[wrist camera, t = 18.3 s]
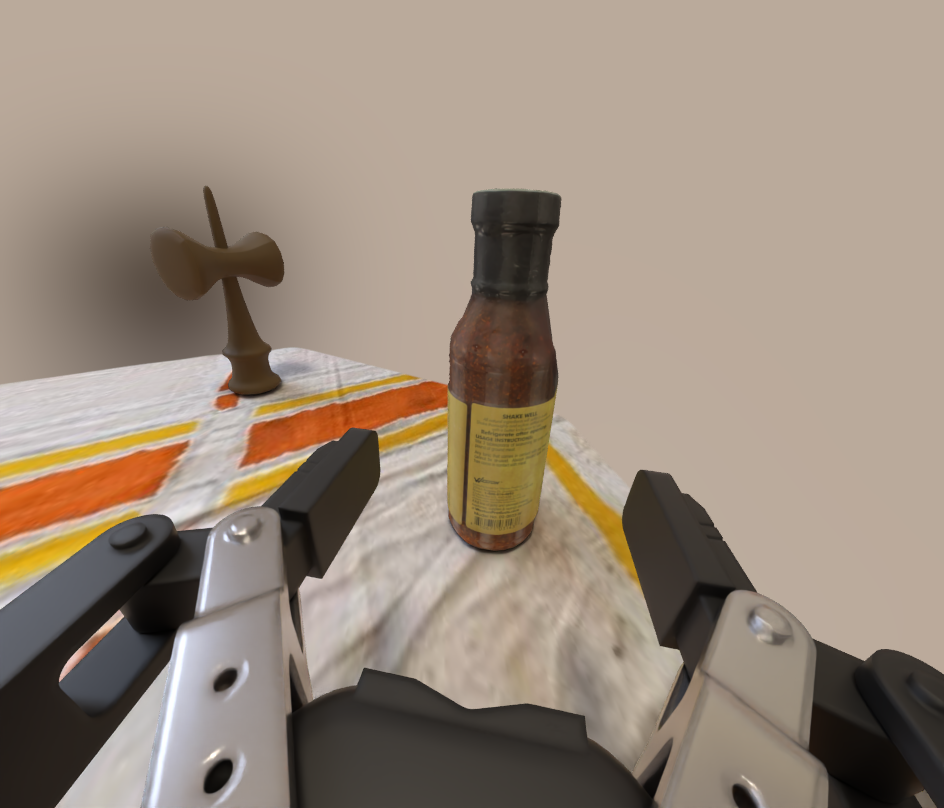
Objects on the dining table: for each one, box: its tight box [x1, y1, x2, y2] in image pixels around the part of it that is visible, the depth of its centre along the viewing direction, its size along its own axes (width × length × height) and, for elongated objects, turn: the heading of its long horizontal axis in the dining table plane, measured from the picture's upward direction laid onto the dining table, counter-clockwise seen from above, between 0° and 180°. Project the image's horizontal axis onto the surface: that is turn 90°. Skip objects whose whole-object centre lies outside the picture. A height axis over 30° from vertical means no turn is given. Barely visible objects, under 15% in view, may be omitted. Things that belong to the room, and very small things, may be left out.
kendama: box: [150, 186, 284, 395], centre depth 35 cm, size 6×10×20 cm, turn 158°
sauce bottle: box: [447, 189, 561, 551], centre depth 20 cm, size 6×6×20 cm
